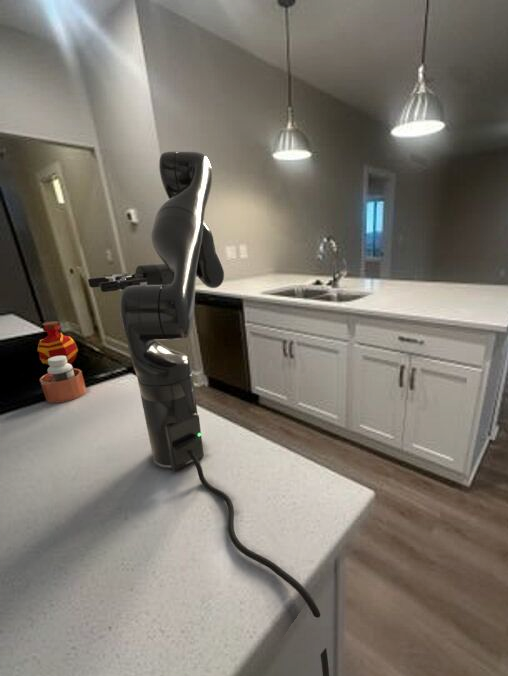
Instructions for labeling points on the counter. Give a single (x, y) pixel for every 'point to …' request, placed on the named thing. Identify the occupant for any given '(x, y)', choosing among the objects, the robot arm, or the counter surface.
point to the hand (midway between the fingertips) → (94, 285)
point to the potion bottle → (56, 344)
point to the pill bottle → (59, 369)
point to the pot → (63, 387)
